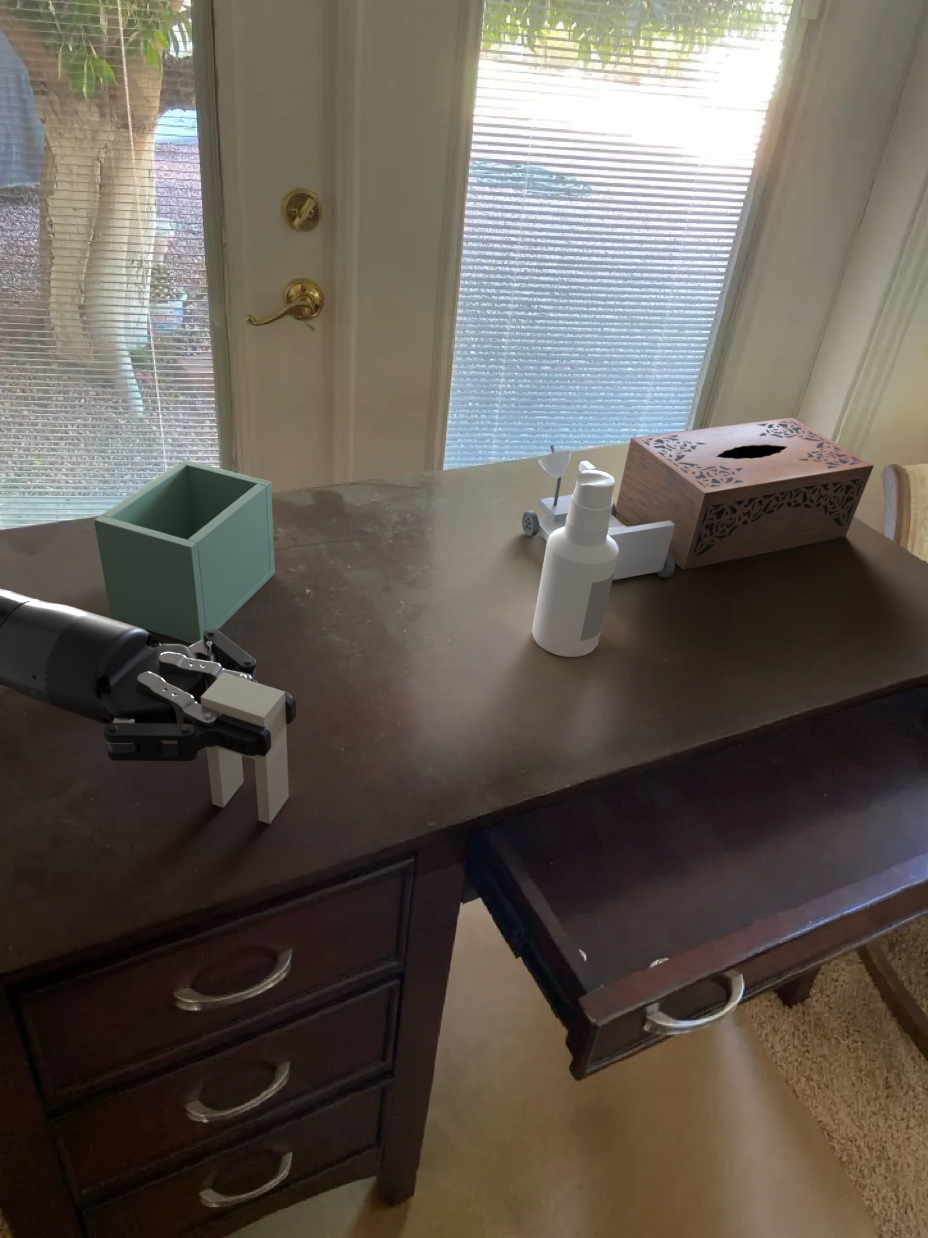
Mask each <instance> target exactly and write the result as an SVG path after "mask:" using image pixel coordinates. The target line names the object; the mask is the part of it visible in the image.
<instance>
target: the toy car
mask: <svg viewBox="0 0 928 1238" xmlns="http://www.w3.org/2000/svg"><path fill="white" fill-rule="evenodd" d="M549 448H550V453H549V454H547V455H544V456H542V457H540V458H539V459H538V460H537V462H538V463H539V465H540V466H541V467H542V469H543V470H544V471H545V472H546V473H547V474H548V475H549V476H550V477H552V478H554V479H556V480H557V481H556V487H555V493H554V496H552V497H545V498H544V497H543V498H539V499H538V505H537V507H538V508H539V509H540V510H541V511H542V512H543V513H544V514H545V515H546V516H545V517H543V516H542V517H539V516H538V514H537V512H536V511H534V510H531V509H530V510H525V511H524V512H523V513H522V517H521V527H522V529H523V532H524V534H525V535H526V536H527V537H534V536H537V535H538V534H539V535H540V537H542V538H543V539H544V541H545V542H547V541H548V538H549V536H550V535H551V534H552V533H553V532H554V531H555V530H557V529H560V528H562V527H565V523H566V518H567V515H568V511H569V506H570V500H571V496H572V494H567V495H560V496H559V494H560V489H561V481H562V478H564V476H565V475H566V474H567V471H568V469H569V466H570V462H571V456H572V452H571V451H569V450H567V451H566V450H563V451H561V450H560V451H556V450H555V446H554V445H553V444H552V445H549ZM577 464H578V470H579V471H580V472H582V471H586V470H596V469H597V468H596V467H595V466H594V465H593V464H592V463H591V462H589V461H588V460H582V459H581V460H579V461H578V462H577ZM617 514H618V512H616V504H615V502H613V506H612V511H611V515H610V520H609V523H610V524H609V529H608V534H607V535H609V536H610V537H611V538H612V539H613V540H614V541H615V542H616V544H617V546H618V549H619V552H618V558H617V563H616V567H615V571H614V576H613V580H612V581H617V580H620V579H621V580H622V579H625V578H630V577H636V576H643V575H648V574H652V573H656V575H657V576H658V577H660V578H662V579H663V578H664V579H665V578H670V577H671V576H673V574H674V572H675V569H676V563H675V562H674V559H673V556H672V555H671V554H670V553H669V552H668V550H669V546H670V542H671V538H672V535H673V531H674V527H675V524H674V523H672V522H671V521H670V520H669V521H663V522H656V523H650V524H644V525H638V526H633V525H631V526H627V525H624V524H623V523H622V522H621V521H620V520H619V519H617Z"/></svg>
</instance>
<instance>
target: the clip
mask: <svg viewBox="0 0 928 1238" xmlns="http://www.w3.org/2000/svg"><path fill="white" fill-rule="evenodd" d="M258 683H259V682H258ZM258 683H255V682H252V681H249V680H246V679H242V678H239V677H236V676H233V675H230V674H227V673H223V674H222V675H221V676H220V677H219V678H218V679H217V680H216V681H215V682H214V683H213V684H212V685H211V686H210V688H209V689H208V688H207V689H206V690H207V691H206V692H205V693H204V694H203V695H202V696H201V706H204V707H206V708H208V709H210V710H212V711H214V712H216V714H217V718H220V717H221V716H222V714H225V715H228V716H231V717H234V718H237V719H240V720H243V721H246V722H249V723H253V724H256V725H259V726H262V727H266V728H267V729H268V730H269V731H270V733H271V749H270V750H269V752H268V753H267V754H266V755H265V756H259V755H256V756H247V755H244V754H241V753H238V752H235V751H232V750H229V749H226V748H223V747H220V746H214V747H205V749H206V757H207V767H208V776H209V785H210V786H209V787H210V793H211V803H212V805H215V806H217V807H219V808H225V807H226V806H227V804H228V803H229V802H230V800H231V799H232V797H234V795H235V794H236V793H237V791H238V790H239V789H240V787H241V786H242V785H243V784H244V781H245V780H244V770H243V758H242V757H245V758H248V759H250V760H254V773H255V774H254V775H255V788H256V802H257V818H258V821H259V822H263V823H265V824H268V825H270V824H272V822H273V821H274V819H275V817H276V816H277V815H278V813H279V812H280V810H281V809H282V808H283V806H284V805H285V804H286V802H287V800H289V797H290V796H289V770H288V769H289V767H288V741H287V724H286V709H285V692H284V691H285V690H283V691H280V690H281V689H279V690H277V689H278V688H276V689H274V688H275V687H273V688H271V687H272V686H270V687H268V686H269V685H267V686H265V685H266V684H264V685H261V684H262V683H260V684H258Z"/></svg>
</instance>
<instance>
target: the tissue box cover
mask: <svg viewBox="0 0 928 1238" xmlns="http://www.w3.org/2000/svg"><path fill="white" fill-rule="evenodd" d="M874 467H875V465H874V464H872V463H871V462H869V461H867V460H865V459H864V458H862V457H861V456H859V455H857V454H856V453H854V452H852V451H850V450H848V449H847V448H846V447H844V446H842V445H840V444H838V443H837V442H835V441H833V440H831V439H830V438H828V437H826V436H824V435H823V434H821V433H819V432H817V431H816V430H814V429H813V428H811V427H809V426H807V425H806V424H804V423H802V422H801V421H798V419H796V418H793V417H792V416H791V417H784V418H776V419H768V420H761V421H760V420H759V421H751V422H744V423H737V424H730V425H729V424H728V425H721V426H712V427H706V428H705V427H704V428H697V429H691V430H690V429H689V430H683V431H674V432H667V433H659V434H651V435H643V436H636V437H635V436H634V437H631V438H630V441H629V445H628V450H627V455H626V460H625V463H624V468H623V472H622V473H623V474H622V478H621V482H620V487H619V492H618V496H617V500H616V504H615V507H616V513H617V514H618V515H620V516H621V517H622V518H623V519H624V520H625V521H627V522H628V523H629V524H630V525H631V526H638V525H644V524H650V523H656V522H663V521H669V520H670V521H671V522H672V523H674V524H675V527H674V531H673V535H672V538H671V542H670V546H669V550H668V552H669V553H670V554H671V555H672V556H673V559H674V562H675V565H677V566H679V568H681V570H685V571H686V570H689V569H695V568H700V567H703V566H704V567H705V566H709V565H713V564H714V565H715V564H717V563H718V564H719V563H723V562H728V561H733V560H738V559H743V558H748V557H753V556H757V555H762V554H767V553H772V552H776V551H782V550H787V549H791V548H795V547H797V548H798V547H801V546H805V545H811V544H817V543H820V542H826V541H830V540H831V541H832V540H837V539H840V538H845V537H846V536H847V534H848V531H849V529H850V527H851V524H852V521H853V519H854V518H855V517H854V516H855V514H856V512H857V509H858V506H859V504H860V501H861V499H862V496H863V494H864V492H865V489H866V486H867V484H868V481H869V479H870V476H871V474H872V471H873V470H874Z"/></svg>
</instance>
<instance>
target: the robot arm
mask: <svg viewBox="0 0 928 1238" xmlns="http://www.w3.org/2000/svg"><path fill="white" fill-rule="evenodd" d="M203 639H204V640H202V641H200V642H198V643H195V644H191V645H189V646H187V645H185V644H181V643H163V642H160V641H159V639H157V638H155V636H153V635H152V634H151V633H150V632H149V631H148V630H146V629H143V628H140V627H137V626H133V625H130V624H127V623H124V622H121V621H117V620H114V619H111V617H107V616H103V615H101V614H97V613H94V612H90V611H87V610H85V609H81V608H78V607H74V606H70V605H67V604H62V603H55V602H50V601H49V602H48V601H45V600H41V599H37V598H34V597H32V596H28V595H25V594H22V593H20V592H19V593H18V592H15V591H12V590H9V589H5V588H2V587H0V686H3V687H6V688H8V689H11V690H13V691H14V692H17V693H18V694H21V695H22V696H24V697H26V698H28V699H31V700H33V701H36V702H39V703H41V704H45V705H47V706H50V707H53V708H56V709H59V710H63V711H66V712H68V713H71V714H74V715H77V716H80V717H83V718H87V719H89V720H92V721H95V722H96V723H97V722H98V723H101V724H102V725H103V724H105V726H104V727H103V729H102V730H103V735H104V741H105V746H106V750H107V755H108V758H109V760H111V761H115V762H116V761H119V762H121V761H124V762H125V761H126V762H192V761H194V760H196V758H198V752H199V751H201V750H203V749H205V748H206V747H214V746H220V747H223V748H226V749H229V750H232V751H235V752H238V753H241V754H244V755H247V756H256V755H259V756H265V755H266V754H267V753H268V752H269V750H270V749H271V733H270V731H269V730H268V729H267V728H266V727H262V726H259V725H256V724H253V723H249V722H246V721H243V720H240V719H237V718H234V717H231V716H228V715H225V714H222V716H221V717H220V718H217V714H216V712H214V711H212V710H210V709H208V708H206V707H204V706H201V696H202V695H203V694H204V693H205V692H206V691H207V690H208V689H209V688H210V686H211V685H212V684H213V683H214V682H215V681H216V680H217V679H218V678H219V677H220V676H221V675H222V674H223V673H227V674H230V675H233V676H236V677H239V678H242V679H246V680H249V681H252V682H255V683H258V684H261V685H265V686H268V687H271V688H274V689H277V690H280V691H284V692H285V709H286V725H291V723H292V722H293V721H294V719H296V716H297V705H296V703H297V701H296V699H295V698H294V697H293V696H292V694H291V693H290V692H288V691H285V690H283V689H280V688H276V687H273V686H270V685H267V684H263V683H260V682H258V680H257V661H256V658H254V657H252V656H251V655H250V654H249V653H247V652H246V651H245V650H243V648H242V647H240V646H238V644H236V643H235V642H234V641H232V639H230V638H229V637H227V636H226V635H225V634H223V633H222V632H221V631H220V630H219V629H218V630H217V629H214V628H209V629H206V630H205V631H204V632H203ZM162 741H163V742H162ZM166 741H167V742H168V741H169V742H177V743H164V742H166Z"/></svg>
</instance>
